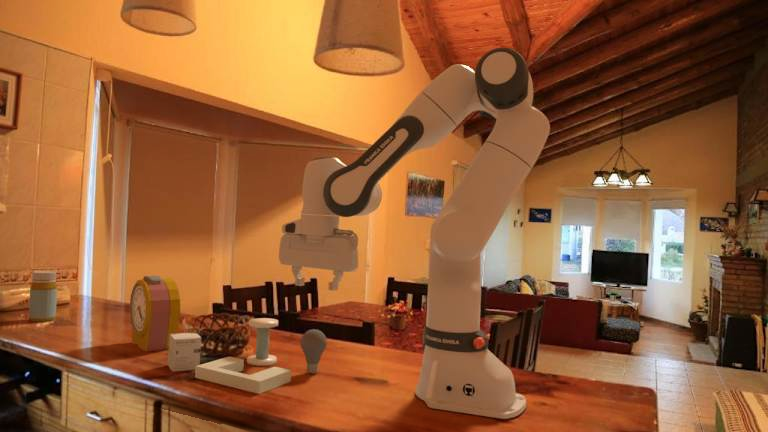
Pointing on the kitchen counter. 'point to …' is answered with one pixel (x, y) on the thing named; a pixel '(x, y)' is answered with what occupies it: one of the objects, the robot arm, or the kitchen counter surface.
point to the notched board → (242, 375)
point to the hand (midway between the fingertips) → (316, 287)
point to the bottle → (43, 296)
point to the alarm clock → (154, 312)
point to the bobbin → (262, 342)
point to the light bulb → (313, 348)
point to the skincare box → (184, 351)
